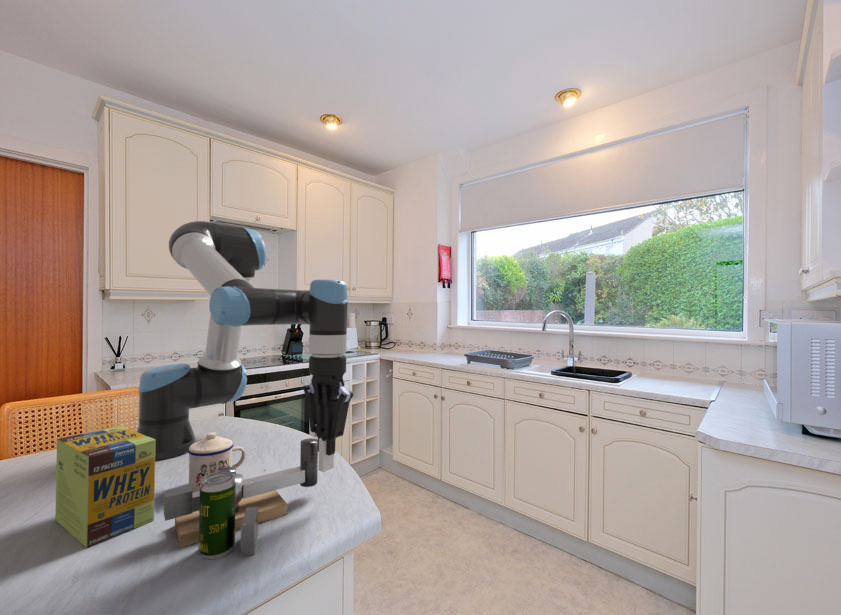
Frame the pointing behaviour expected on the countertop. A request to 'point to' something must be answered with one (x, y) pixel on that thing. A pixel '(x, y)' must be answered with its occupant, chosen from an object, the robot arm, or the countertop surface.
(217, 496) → the green drink can
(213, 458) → the teacup with lid
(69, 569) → the countertop surface
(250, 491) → the lever
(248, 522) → the pivot and anvil
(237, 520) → the press bench
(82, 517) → the protein box
